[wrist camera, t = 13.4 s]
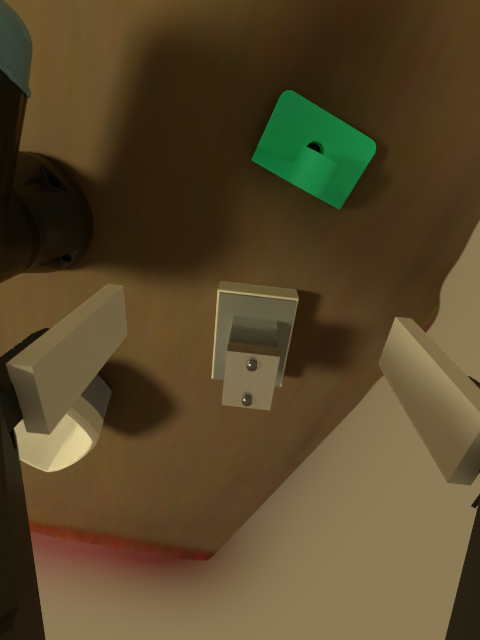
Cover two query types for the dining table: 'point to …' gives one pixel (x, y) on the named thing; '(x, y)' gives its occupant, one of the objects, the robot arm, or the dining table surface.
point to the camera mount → (306, 164)
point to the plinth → (254, 305)
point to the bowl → (67, 431)
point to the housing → (251, 363)
